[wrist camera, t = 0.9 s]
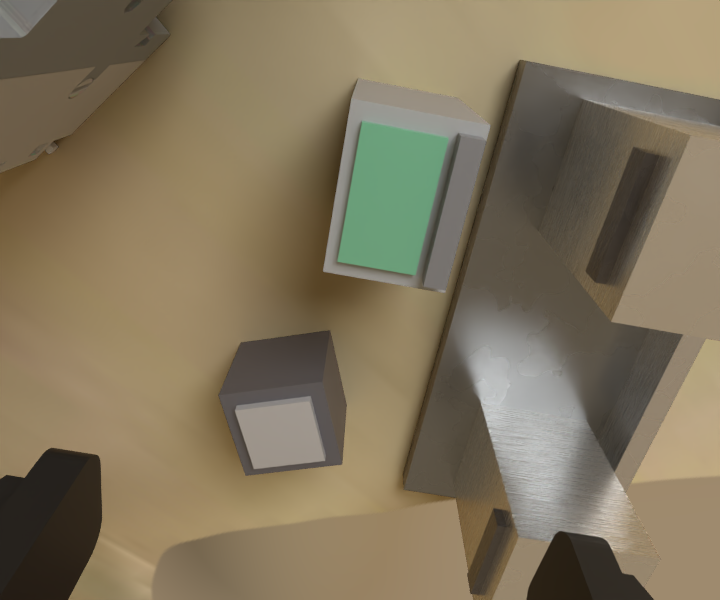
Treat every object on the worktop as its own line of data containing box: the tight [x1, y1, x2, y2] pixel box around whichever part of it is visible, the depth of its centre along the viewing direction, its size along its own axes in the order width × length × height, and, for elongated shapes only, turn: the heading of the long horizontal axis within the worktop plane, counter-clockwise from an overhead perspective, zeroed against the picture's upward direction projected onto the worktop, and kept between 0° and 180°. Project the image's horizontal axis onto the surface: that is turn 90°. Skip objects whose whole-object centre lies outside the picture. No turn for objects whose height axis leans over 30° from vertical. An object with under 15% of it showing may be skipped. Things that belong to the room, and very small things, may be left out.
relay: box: [218, 330, 347, 476], centre depth 29 cm, size 5×5×5 cm
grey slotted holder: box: [403, 60, 720, 600], centre depth 25 cm, size 24×11×10 cm, turn 170°
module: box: [323, 78, 491, 293], centre depth 22 cm, size 6×4×9 cm
